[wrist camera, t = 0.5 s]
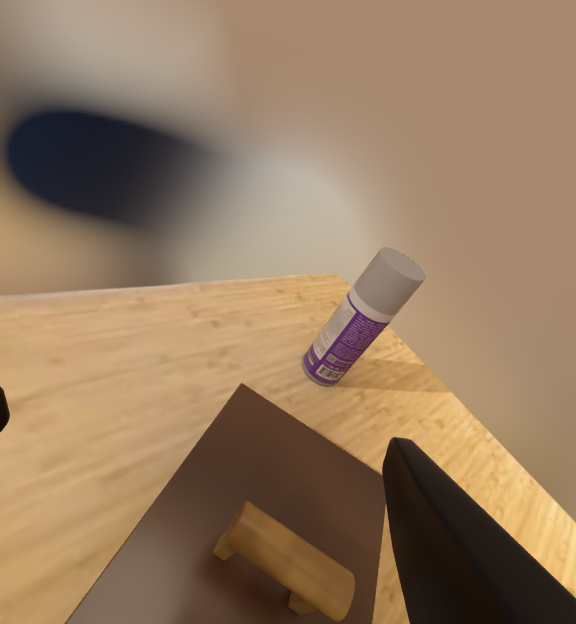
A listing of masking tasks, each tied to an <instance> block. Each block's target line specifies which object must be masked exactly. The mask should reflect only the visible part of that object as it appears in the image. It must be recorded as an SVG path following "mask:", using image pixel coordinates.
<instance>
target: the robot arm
mask: <svg viewBox="0 0 576 624" xmlns="http://www.w3.org/2000/svg"><path fill="white" fill-rule="evenodd" d="M9 418H10V413H9V409H8V405H7V401H6V397H5V393H4V390H3V389H2V388H1V387H0V432H1V431H2V430H3V429H4V427H5V426H6V425H7V423H8V421H9ZM382 473H383V482H384V489H385V497H386V504H387V512H388V519H389V527H390V534H391V541H392V547H393V552H394V557H395V562H396V566H397V570H398V575H399V579H400V583H401V588H402V592H403V596H404V600H405V605H406V609H407V613H408V617H409V622H410V624H576V598H575V597H574V596H573V595H572V594H571V593H570V592H569V591H568V590H567V589H566V588H565V587H564V586H563V585H561V584H560V583H559V582H558V581H557V580H556V579H555V578H554V577H553V576H552V575H551V574H550V573H549V572H548V571H547V570H546V569H545V568H544V567H543V566H542V565H541V564H540V563H539V562H538V561H537V560H536V559H534V558H533V557H532V556H531V555H530V554H529V553H528V552H527V551H526V550H525V549H524V548H523V547H522V546H521V545H520V544H519V543H518V542H517V541H516V540H515V539H514V538H513V537H512V536H511V535H510V534H509V533H507V532H506V531H505V530H504V529H503V528H502V527H501V526H500V525H499V524H498V523H497V522H496V521H495V520H494V519H493V518H492V517H491V516H490V515H489V514H488V513H487V512H486V511H485V510H484V509H483V508H482V507H480V506H479V505H478V504H477V503H476V502H475V501H474V500H473V499H472V498H471V497H470V496H469V495H468V494H467V493H466V492H465V491H464V490H463V489H462V488H461V487H460V486H459V485H458V484H457V483H456V482H455V481H454V480H452V479H451V478H450V477H449V476H448V475H447V474H446V473H445V472H444V471H443V470H442V469H441V468H440V467H439V466H438V465H437V464H436V463H435V462H434V461H433V460H432V459H431V458H430V457H429V456H428V455H427V454H425V453H424V452H423V451H422V450H421V449H420V448H419V447H418V446H417V445H416V444H415V443H414V442H413V441H412V440H410V439H406V438H398V437H393V438H392V439H391V440H390V442H389V445H388V449H387V452H386V456H385V459H384V462H383V469H382Z"/></svg>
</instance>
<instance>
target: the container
mask: <svg viewBox="0 0 576 624" xmlns="http://www.w3.org/2000/svg"><path fill="white" fill-rule="evenodd" d="M425 278H426V276H425V273H424V271H423V270H422V269H421V267H420V266H419V265H418V264H416V263H415V262H414V261H413V260H412V259H410V258H409V257H407V256H406V255H404V254H403V253H401V252H399V251H397V250H394V249H391V248H385V247H384V248H381V249H380V251H379V252H378V253H377V254H376V256H375V257H374V258H373V260H372V261H371V263H370V264H369V266H368V267H367V268H366V269H365V271H364V272H363V273H362V275H361V276H360V277H359V279H358V280H357V282H356V283H355V284H354V285H353V287H352V288H351V289H350V291H349V292H348V294H347V295H346V297H345V298H344V299H343V301H342V302H341V304H340V305H339V307H338V308H337V309H336V311H335V312H334V314H333V315H332V317H331V318H330V319H329V321H328V322H327V324H326V325H325V327H324V328H323V330H322V331H321V332H320V334H319V335H318V337H317V338H316V340H315V341H314V342H313V344H312V345H311V347H310V348H309V350H308V351H307V353H306V354H305V356H304V357H303V360H302V365H303V369H304V371H305V373H306V374H307V376H308V377H309V378H310V379H311V380H313V381H314V382H316V383H317V384H320V385H323V386H333V385H335V384H336V383H337V382H338V381H339V380H340V379H341V377H342V376H343V375H344V374H345V373H346V372H347V371H348V369H349V368H350V367H351V366H352V365H353V364H354V363H355V361H356V360H357V359H358V358H359V357H360V356H361V355H362V353H363V352H364V351H365V350H366V349H367V348H368V347H369V345H370V344H371V343H372V342H373V341H374V340H375V339H376V337H377V336H378V335H379V334H380V333H381V332H382V331H383V329H384V328H385V327H386V326H387V325H388V324H389V323H390V321H391V320H392V319H393V318H394V316H395V315H396V314H397V313H398V312H399V310H400V309H401V308H402V307H403V305H404V304H405V303H406V302H407V301H408V299H409V298H410V297H411V296H412V295H413V293H414V292H415V291H416V290H417V288H418V287H419V286H420V285H421V284H422V282H423V281H424V280H425Z"/></svg>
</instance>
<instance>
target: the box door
mask: <svg viewBox="0 0 576 624" xmlns="http://www.w3.org/2000/svg"><path fill="white" fill-rule="evenodd" d="M385 507H386V497H385V489H384V482H383V476H382V475H381V474H379V473H378V472H376V471H375V470H373V469H372V468H370V467H369V466H367V465H366V464H364V463H362V462H361V461H359V460H358V459H356V458H355V457H353V456H352V455H350V454H349V453H347V452H346V451H344V450H343V449H341V448H340V447H338V446H337V445H335V444H334V443H332V442H331V441H329V440H328V439H326V438H324V437H323V436H321V435H320V434H318V433H317V432H315V431H314V430H312V429H311V428H309V427H308V426H306V425H305V424H303V423H302V422H300V421H299V420H297V419H296V418H294V417H293V416H291V415H290V414H288V413H287V412H285V411H283V410H282V409H280V408H279V407H277V406H276V405H274V404H273V403H271V402H270V401H268V400H267V399H265V398H264V397H262V396H261V395H259V394H258V393H256V392H255V391H253V390H252V389H250V388H249V387H247V386H246V385H244V384H242V383H241V384H240V385H239V387H238V388H237V389H236V391H235V392H234V394H233V395H232V396H231V398H230V399H229V400H228V402H227V403H226V404H225V406H224V407H223V409H222V410H221V411H220V413H219V414H218V415H217V417H216V418H215V419H214V421H213V422H212V424H211V425H210V426H209V428H208V429H207V430H206V432H205V433H204V434H203V436H202V437H201V439H200V440H199V441H198V443H197V444H196V445H195V447H194V448H193V449H192V451H191V452H190V454H189V455H188V456H187V458H186V459H185V460H184V462H183V463H182V464H181V466H180V467H179V469H178V470H177V471H176V473H175V474H174V475H173V477H172V478H171V479H170V481H169V482H168V484H167V485H166V486H165V488H164V489H163V490H162V492H161V493H160V494H159V496H158V497H157V499H156V500H155V501H154V503H153V504H152V505H151V507H150V508H149V509H148V511H147V512H146V513H145V515H144V516H143V518H142V519H141V520H140V522H139V523H138V524H137V526H136V527H135V528H134V530H133V531H132V533H131V534H130V535H129V537H128V538H127V539H126V541H125V542H124V543H123V545H122V546H121V548H120V549H119V550H118V552H117V553H116V554H115V556H114V557H113V558H112V560H111V561H110V563H109V564H108V565H107V567H106V568H105V569H104V571H103V572H102V573H101V575H100V576H99V578H98V579H97V580H96V582H95V583H94V584H93V586H92V587H91V588H90V590H89V591H88V593H87V594H86V595H85V597H84V598H83V599H82V601H81V602H80V603H79V605H78V606H77V608H76V609H75V610H74V612H73V613H72V614H71V616H70V617H69V618H68V620H67V621H66V623H65V624H372V620H373V612H374V603H375V594H376V585H377V577H378V568H379V559H380V550H381V542H382V533H383V524H384V515H385Z"/></svg>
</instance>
